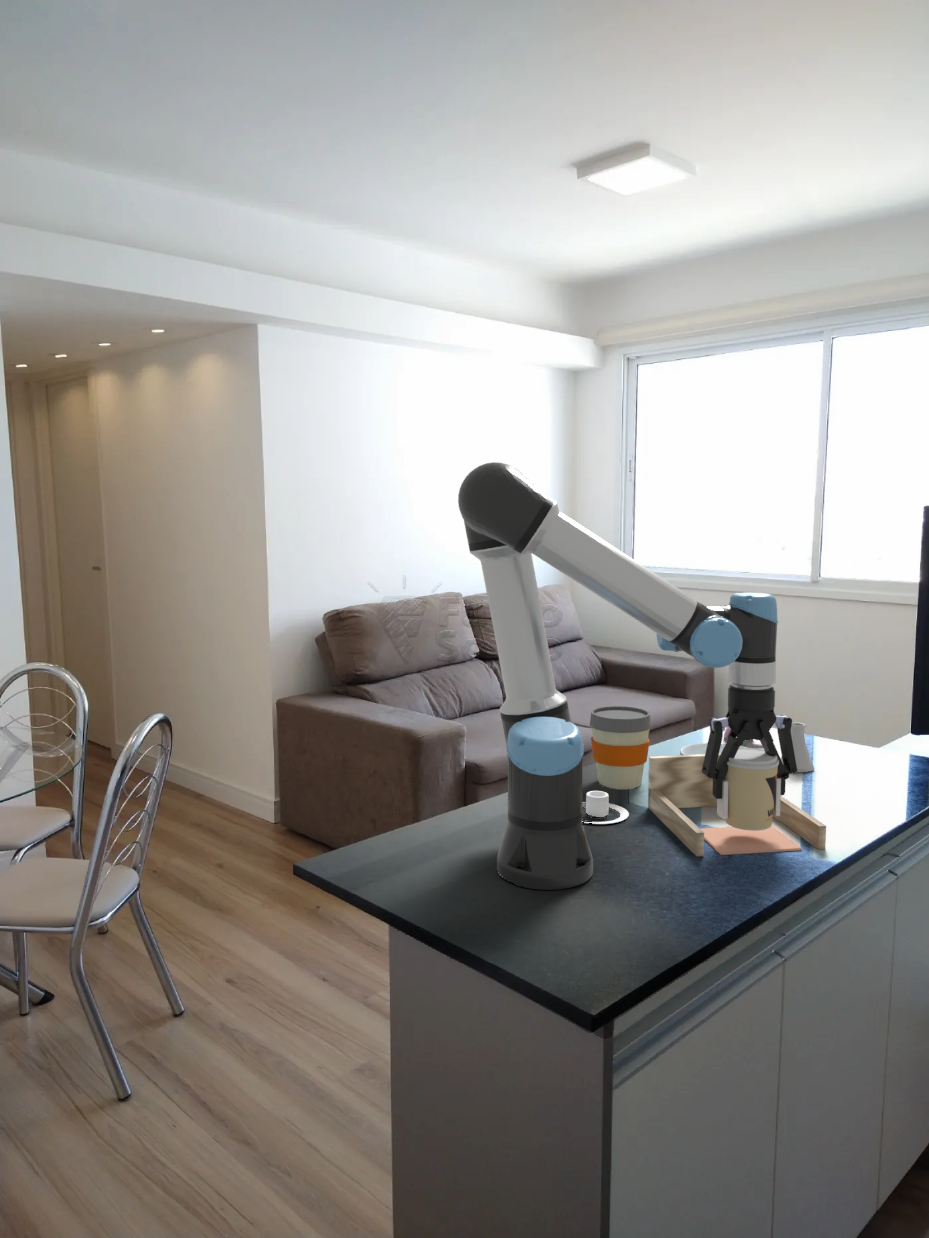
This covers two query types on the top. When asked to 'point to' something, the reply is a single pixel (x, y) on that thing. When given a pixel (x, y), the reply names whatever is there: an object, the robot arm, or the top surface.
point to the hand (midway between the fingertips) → (748, 814)
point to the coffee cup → (751, 789)
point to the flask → (800, 748)
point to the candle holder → (602, 807)
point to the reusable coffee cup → (620, 745)
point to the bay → (707, 801)
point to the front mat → (748, 840)
